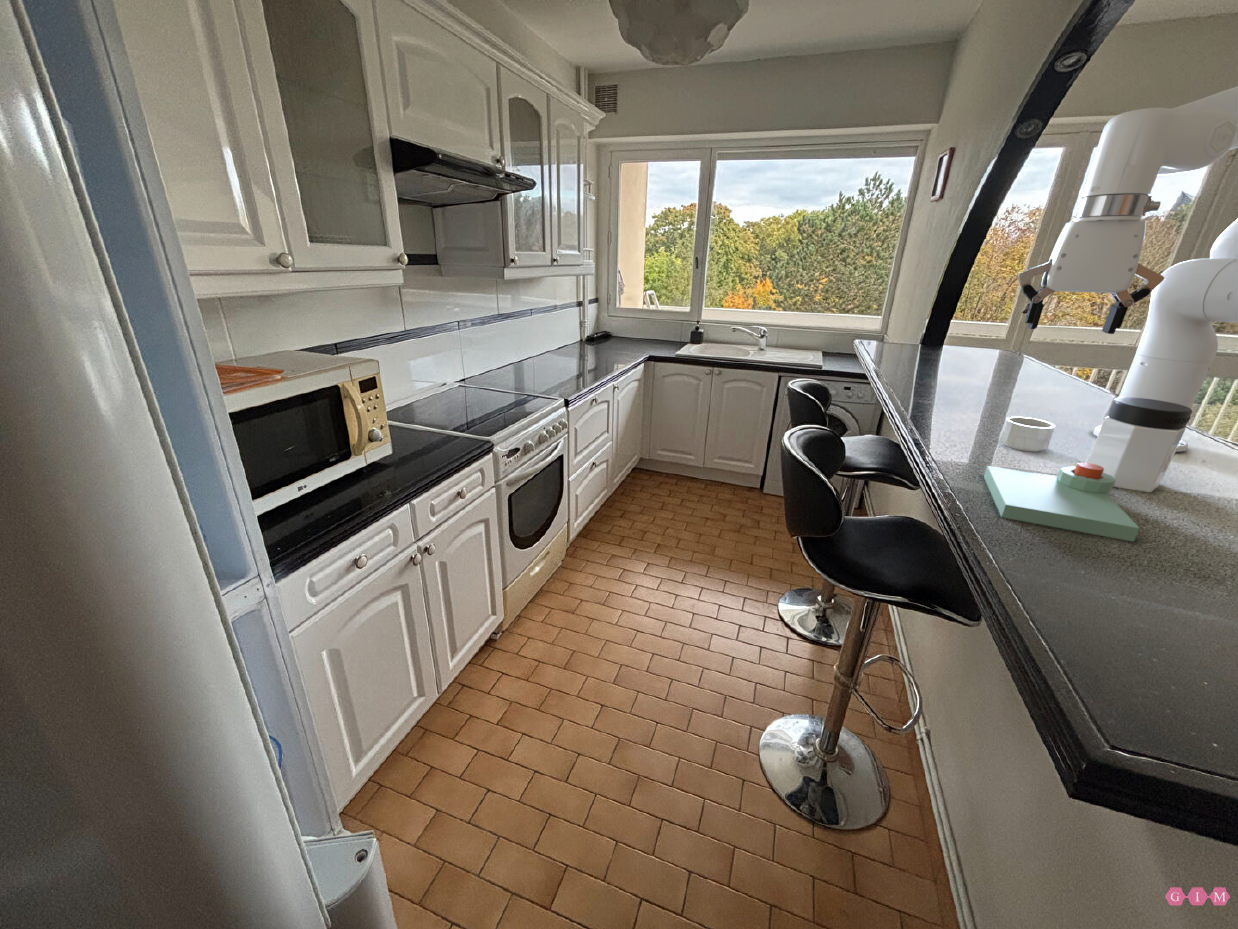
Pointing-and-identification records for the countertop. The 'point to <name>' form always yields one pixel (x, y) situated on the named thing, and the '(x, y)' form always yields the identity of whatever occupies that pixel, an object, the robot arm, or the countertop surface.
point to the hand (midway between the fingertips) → (1068, 330)
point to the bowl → (1027, 433)
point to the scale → (1060, 501)
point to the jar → (1139, 441)
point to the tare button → (1089, 470)
